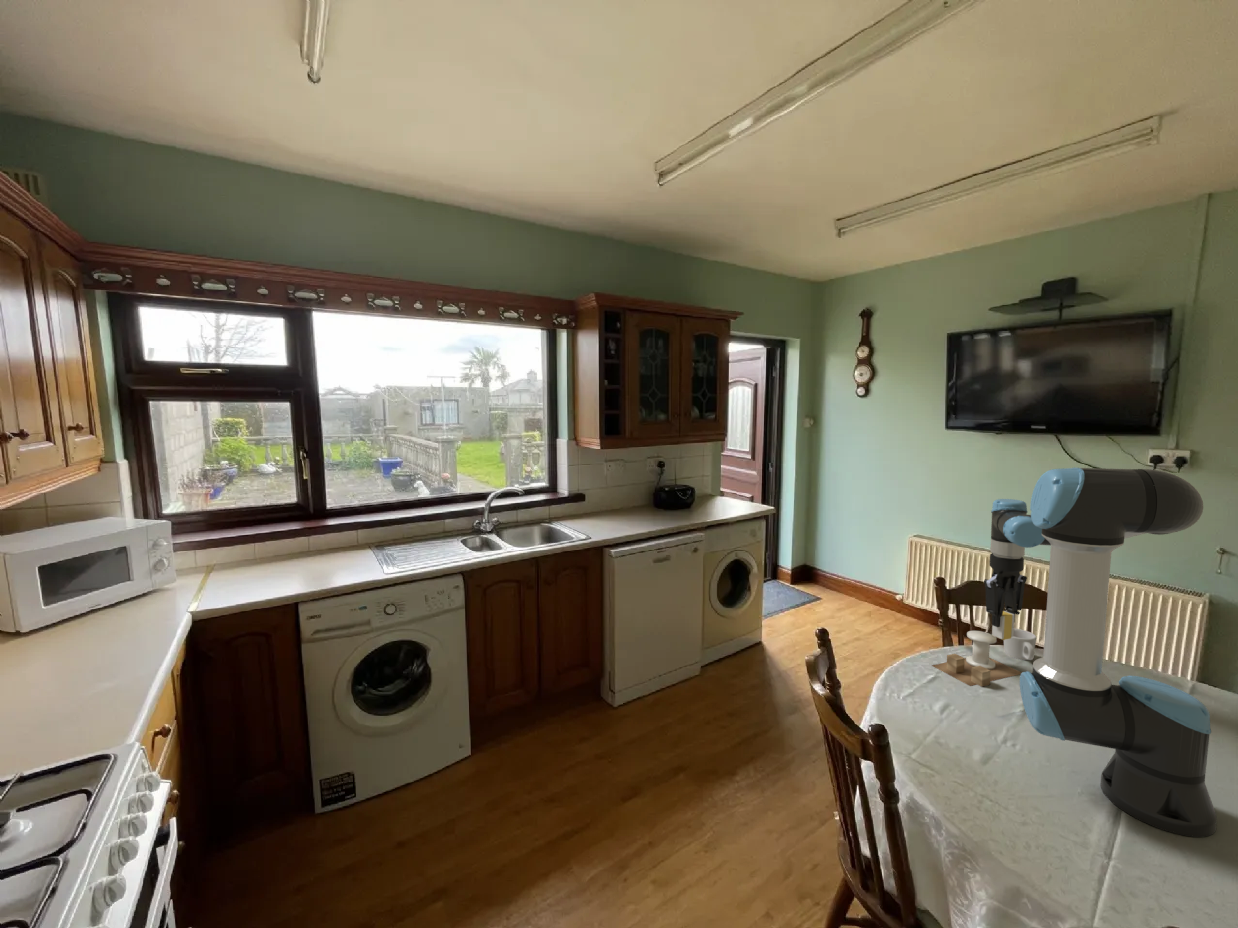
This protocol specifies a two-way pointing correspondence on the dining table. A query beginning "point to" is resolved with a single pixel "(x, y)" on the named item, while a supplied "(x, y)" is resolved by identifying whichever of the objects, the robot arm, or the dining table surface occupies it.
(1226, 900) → the dining table surface
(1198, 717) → the robot arm
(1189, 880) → the dining table surface
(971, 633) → the knob
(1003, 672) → the board
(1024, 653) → the cup
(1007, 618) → the yellow rectangular block
